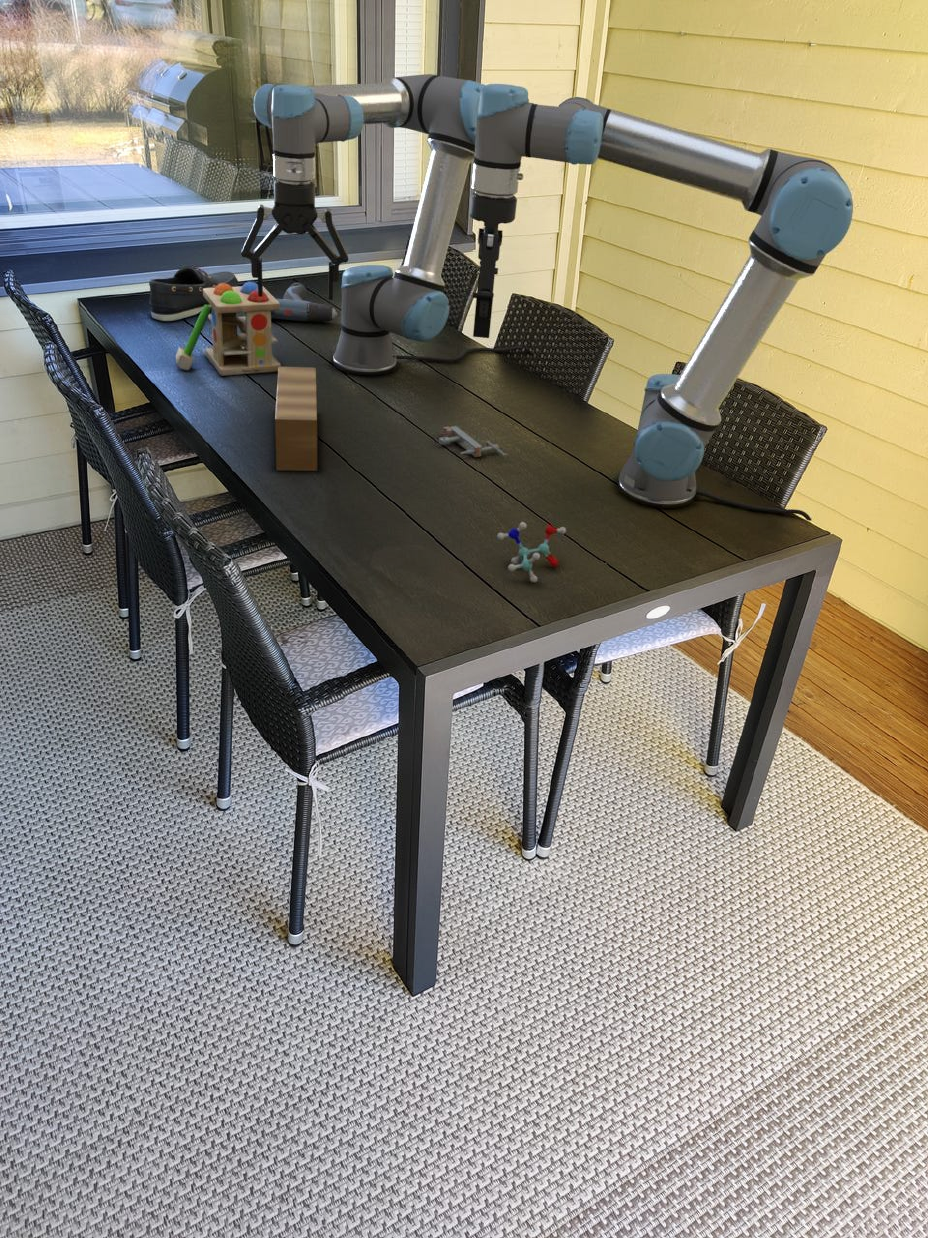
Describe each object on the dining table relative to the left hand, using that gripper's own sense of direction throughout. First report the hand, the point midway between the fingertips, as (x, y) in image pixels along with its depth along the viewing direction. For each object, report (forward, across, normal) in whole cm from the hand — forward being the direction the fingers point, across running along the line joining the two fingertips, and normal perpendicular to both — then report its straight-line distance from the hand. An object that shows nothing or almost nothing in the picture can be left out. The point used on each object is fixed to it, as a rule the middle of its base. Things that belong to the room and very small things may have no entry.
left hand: (295, 296), depth 193 cm
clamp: (+26, +35, -13) cm, 46 cm away
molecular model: (+26, +39, -60) cm, 76 cm away
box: (+26, 0, -10) cm, 28 cm away
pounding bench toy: (+26, -17, +31) cm, 44 cm away
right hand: (-6, +32, -31) cm, 45 cm away
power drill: (+26, +2, +73) cm, 77 cm away
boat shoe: (+26, -28, +75) cm, 84 cm away
